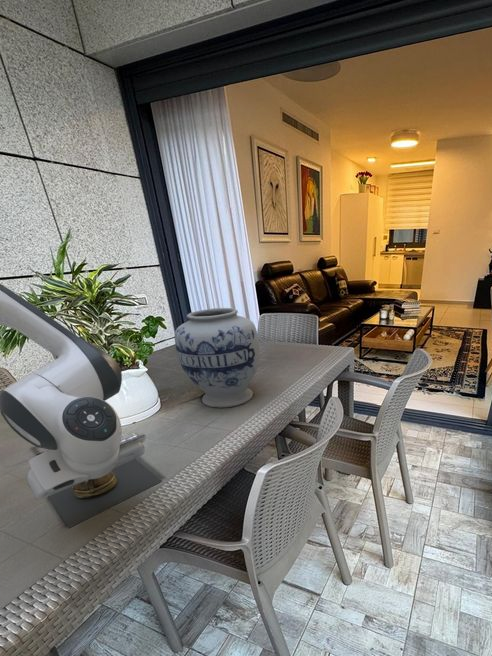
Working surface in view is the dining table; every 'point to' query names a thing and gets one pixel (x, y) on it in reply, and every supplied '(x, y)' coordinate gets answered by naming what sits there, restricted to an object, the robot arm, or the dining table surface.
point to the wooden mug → (95, 486)
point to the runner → (129, 483)
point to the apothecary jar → (219, 355)
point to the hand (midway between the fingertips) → (91, 476)
